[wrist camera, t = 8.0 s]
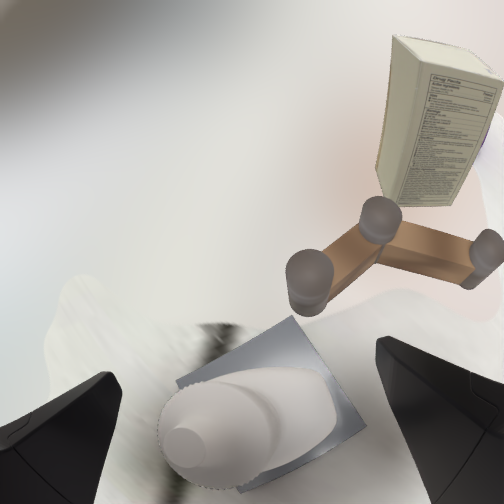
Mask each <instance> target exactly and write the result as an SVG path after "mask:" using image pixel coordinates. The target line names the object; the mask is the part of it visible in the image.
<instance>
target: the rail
mask: <svg viewBox="0 0 504 504" xmlns="http://www.w3.org/2000/svg"><path fill="white" fill-rule="evenodd" d="M503 262H504V240H503V239H502V237H501V236H500V235H499V234H498V233H497V232H495V231H494V230H491V229H485V230H483V231H482V232H481V233H480V235H479V236H478V237H477V238H476V240H475V241H474V242H473V241H470V240H466V239H463V238H460V237H457V236H454V235H451V234H448V233H444V232H441V231H438V230H434V229H430V228H427V227H424V226H420V225H417V224H413V223H409V222H406V221H402V212H401V210H400V208H399V206H398V205H397V204H396V203H395V202H394V201H392V200H391V199H389V198H386V197H382V196H375V197H372V198H370V199H368V200H367V201H366V202H365V203H364V205H363V208H362V212H361V216H360V220H359V223H358V224H356V225H355V226H354V227H353V228H351V229H350V230H349V231H348V232H346V233H345V234H344V235H342V236H341V237H340V238H339V239H337V240H336V241H335V242H333V243H332V244H331V245H329V246H328V247H327V248H326V249H324V250H323V251H322V252H321V251H318V250H314V249H305V250H302V251H299V252H297V253H295V254H294V255H293V256H292V257H291V258H290V259H289V261H288V263H287V265H286V280H287V287H288V295H289V302H290V305H291V308H292V309H293V310H294V311H295V312H296V313H297V314H299V315H301V316H305V317H312V316H315V315H318V314H319V313H321V312H322V311H323V310H324V309H325V307H326V305H327V303H328V302H329V301H330V300H332V299H333V298H334V297H335V296H337V295H338V294H339V293H340V292H342V291H343V290H344V289H345V288H346V287H348V286H349V285H350V284H351V283H352V282H353V281H355V280H356V279H357V278H358V277H359V276H360V275H362V274H363V273H364V272H365V271H366V270H367V269H368V268H370V267H371V266H372V265H373V264H376V263H379V264H383V265H386V266H390V267H394V268H398V269H402V270H406V271H409V272H413V273H417V274H421V275H425V276H428V277H432V278H436V279H440V280H443V281H447V282H451V283H454V284H458V285H460V286H461V287H462V288H464V289H467V290H471V289H474V288H475V287H476V286H477V285H479V284H480V283H481V282H482V281H483V280H484V279H485V278H486V277H488V276H489V275H490V274H491V273H492V272H493V271H494V270H495V269H496V268H498V267H499V266H500V265H501V264H502V263H503Z"/></svg>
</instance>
